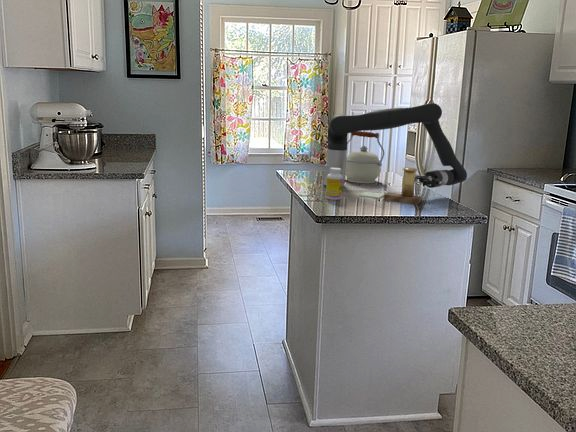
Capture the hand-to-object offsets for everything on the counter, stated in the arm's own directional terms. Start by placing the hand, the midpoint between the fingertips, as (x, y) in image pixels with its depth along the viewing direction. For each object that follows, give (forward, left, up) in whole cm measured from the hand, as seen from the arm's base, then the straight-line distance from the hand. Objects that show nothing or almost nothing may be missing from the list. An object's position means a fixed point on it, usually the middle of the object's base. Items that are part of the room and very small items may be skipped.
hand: (415, 181), depth 239 cm
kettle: (-35, +34, -9) cm, 49 cm away
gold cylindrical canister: (-2, -4, -6) cm, 8 cm away
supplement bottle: (-30, -18, -9) cm, 36 cm away
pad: (-18, -1, -8) cm, 20 cm away
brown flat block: (-4, -4, -8) cm, 10 cm away
